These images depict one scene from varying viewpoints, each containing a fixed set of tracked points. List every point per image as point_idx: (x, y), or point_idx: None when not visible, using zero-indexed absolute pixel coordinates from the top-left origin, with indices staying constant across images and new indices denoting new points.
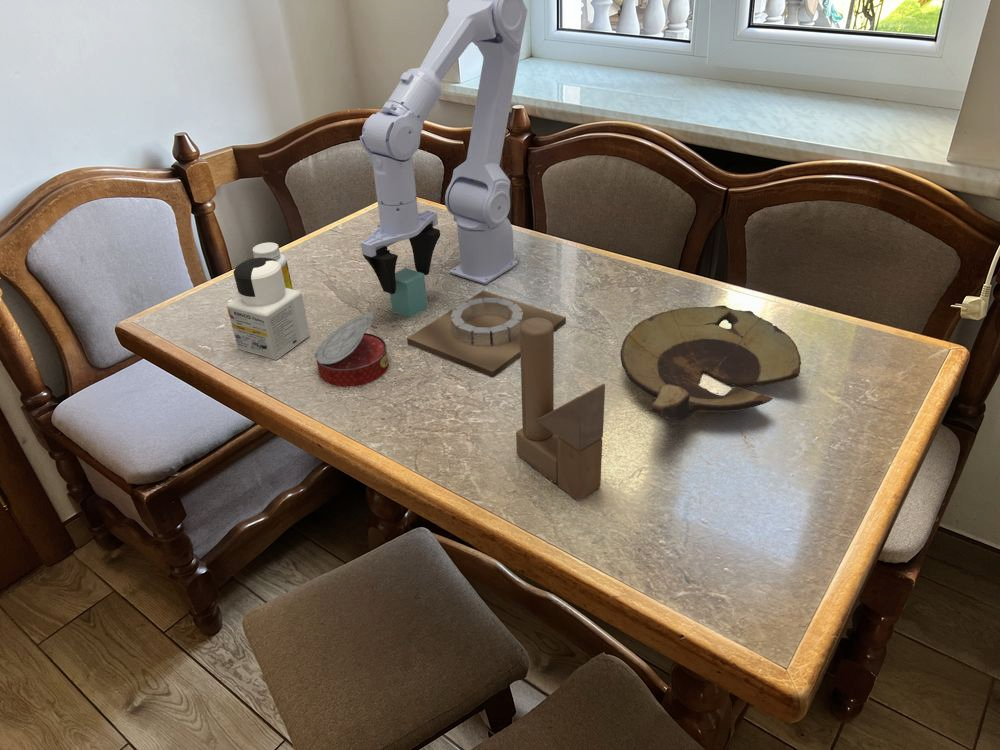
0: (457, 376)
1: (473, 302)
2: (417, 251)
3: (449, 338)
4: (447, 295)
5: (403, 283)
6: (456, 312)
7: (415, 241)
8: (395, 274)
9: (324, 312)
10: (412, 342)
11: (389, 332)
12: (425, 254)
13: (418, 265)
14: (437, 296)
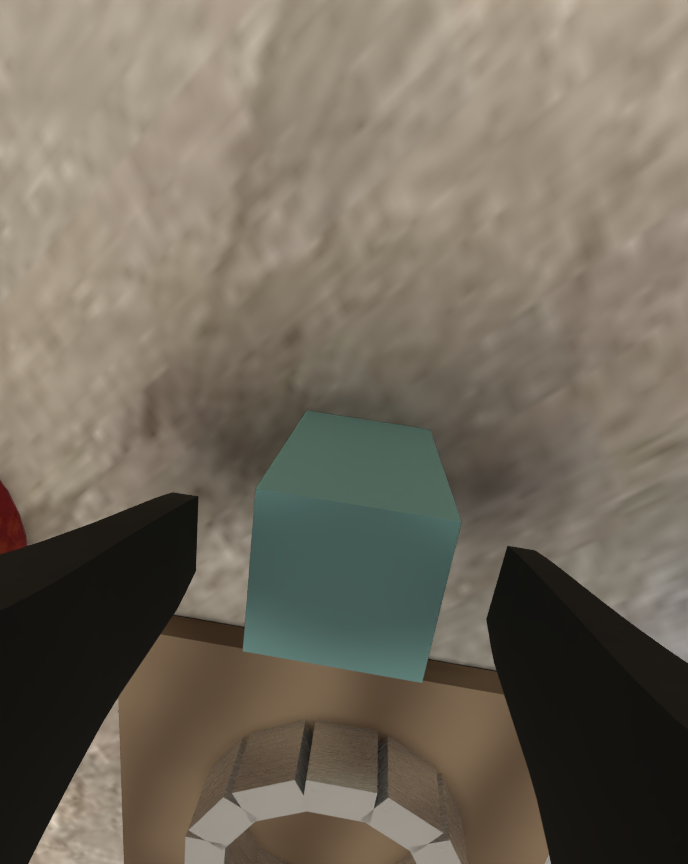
0: (85, 799)
1: (390, 820)
2: (585, 707)
3: (201, 746)
4: (550, 559)
5: (245, 623)
6: (280, 796)
7: (657, 828)
8: (322, 516)
9: (107, 58)
10: None
11: None
12: (547, 784)
13: (522, 603)
14: (525, 524)
